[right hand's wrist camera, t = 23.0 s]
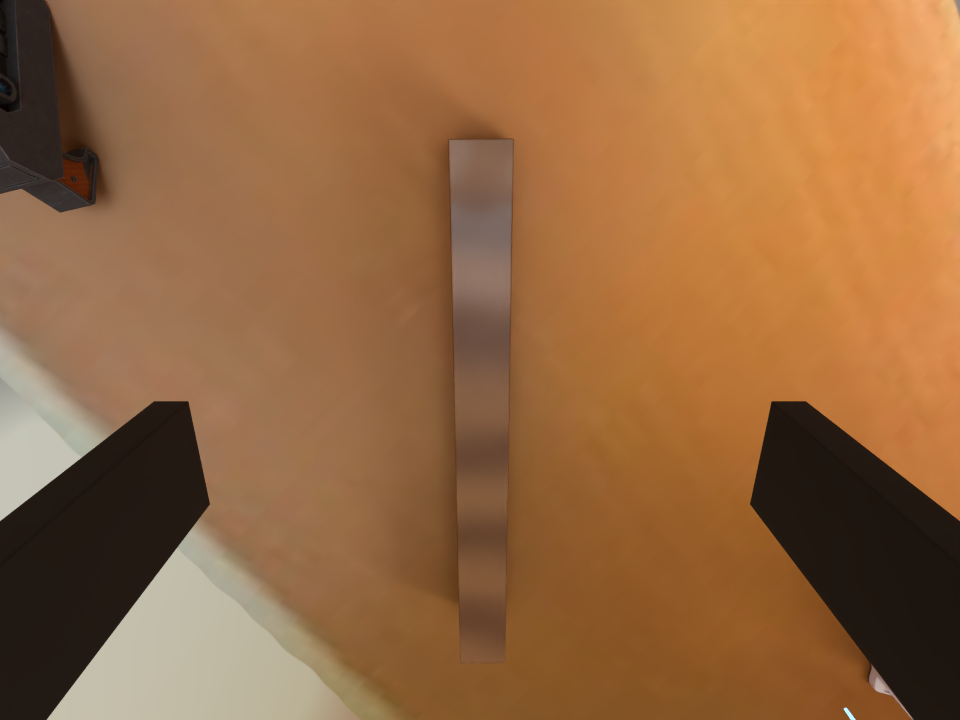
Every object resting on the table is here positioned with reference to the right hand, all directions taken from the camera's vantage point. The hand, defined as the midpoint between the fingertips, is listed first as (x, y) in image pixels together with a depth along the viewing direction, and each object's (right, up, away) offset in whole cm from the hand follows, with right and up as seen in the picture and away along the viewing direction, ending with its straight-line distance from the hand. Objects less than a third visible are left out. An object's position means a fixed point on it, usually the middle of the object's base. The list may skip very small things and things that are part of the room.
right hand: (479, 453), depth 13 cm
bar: (0, -3, +45) cm, 45 cm away
